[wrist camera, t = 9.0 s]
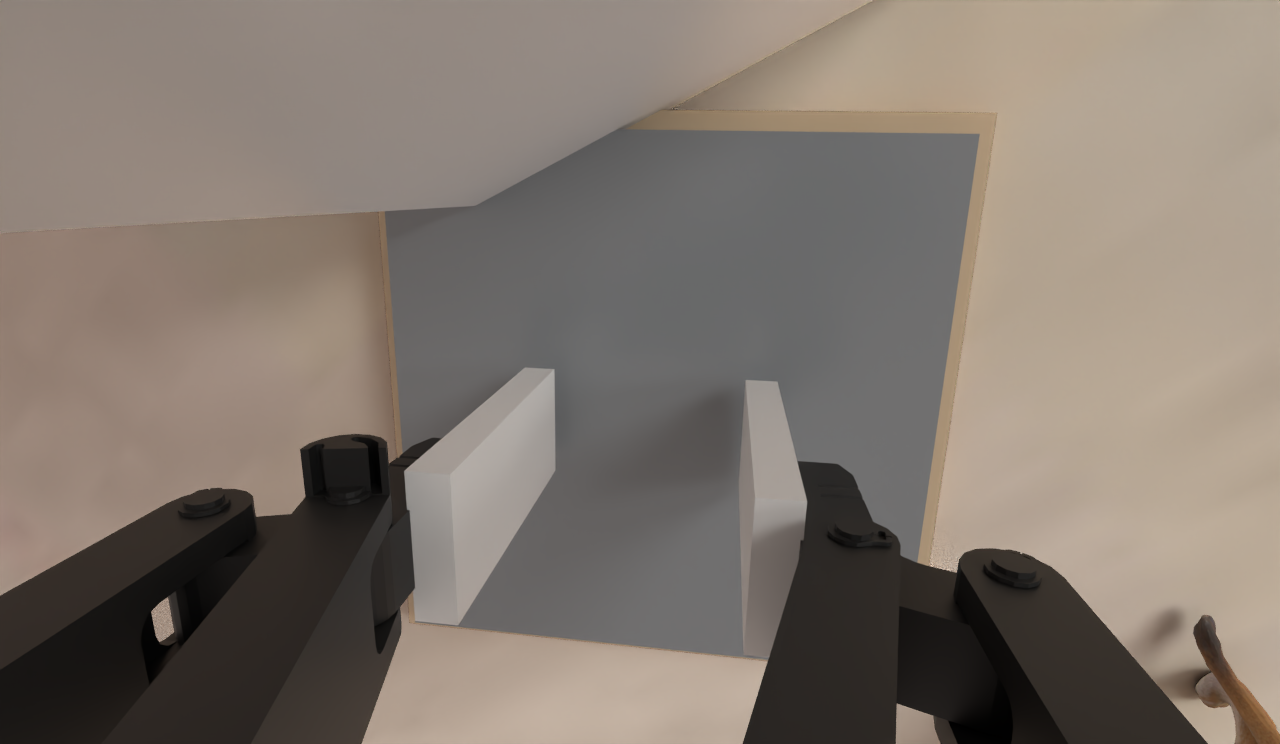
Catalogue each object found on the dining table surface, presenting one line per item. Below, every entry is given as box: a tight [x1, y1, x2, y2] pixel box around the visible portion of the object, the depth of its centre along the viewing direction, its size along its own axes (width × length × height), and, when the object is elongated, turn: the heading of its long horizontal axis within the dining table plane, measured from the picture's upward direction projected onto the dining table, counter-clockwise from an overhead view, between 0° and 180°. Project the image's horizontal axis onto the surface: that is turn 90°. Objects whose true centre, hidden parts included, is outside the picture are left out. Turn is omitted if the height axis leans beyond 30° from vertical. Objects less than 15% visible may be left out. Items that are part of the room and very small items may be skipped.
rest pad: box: [378, 110, 997, 661], centre depth 18 cm, size 15×15×1 cm
